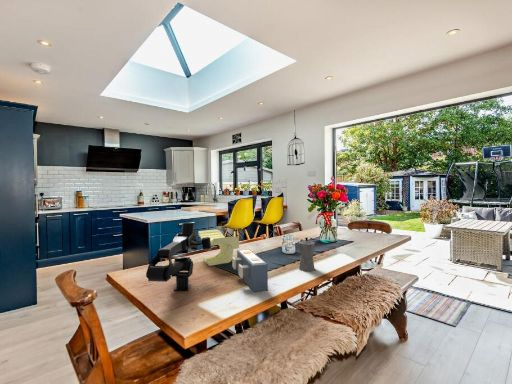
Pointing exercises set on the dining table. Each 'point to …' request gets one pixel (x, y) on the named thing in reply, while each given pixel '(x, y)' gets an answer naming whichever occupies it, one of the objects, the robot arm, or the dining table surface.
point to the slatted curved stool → (225, 246)
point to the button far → (236, 262)
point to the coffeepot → (306, 255)
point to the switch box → (254, 270)
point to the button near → (243, 270)
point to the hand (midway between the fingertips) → (197, 246)
